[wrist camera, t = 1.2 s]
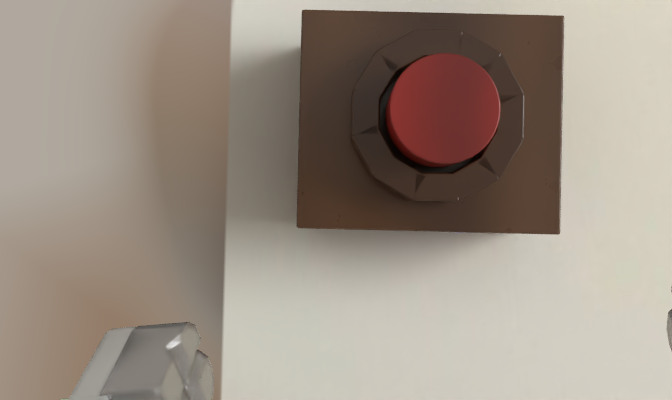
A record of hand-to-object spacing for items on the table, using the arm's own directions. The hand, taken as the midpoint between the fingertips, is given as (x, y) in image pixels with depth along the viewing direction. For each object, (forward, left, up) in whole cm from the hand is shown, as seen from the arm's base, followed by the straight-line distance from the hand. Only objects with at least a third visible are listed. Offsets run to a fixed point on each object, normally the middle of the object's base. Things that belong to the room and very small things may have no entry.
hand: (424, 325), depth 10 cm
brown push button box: (+3, +6, -23) cm, 24 cm away
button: (+3, +6, -15) cm, 16 cm away
